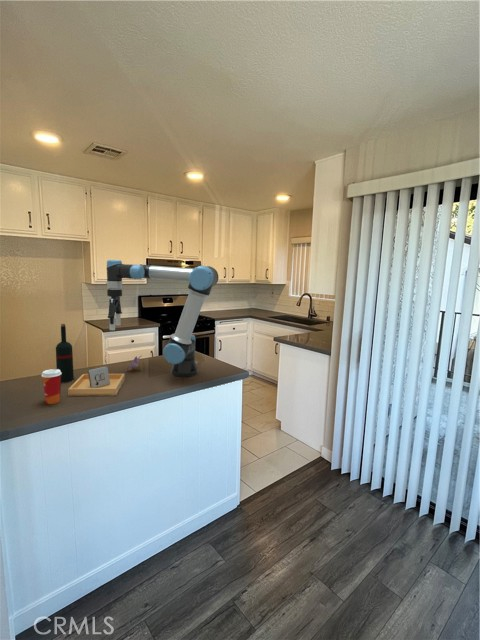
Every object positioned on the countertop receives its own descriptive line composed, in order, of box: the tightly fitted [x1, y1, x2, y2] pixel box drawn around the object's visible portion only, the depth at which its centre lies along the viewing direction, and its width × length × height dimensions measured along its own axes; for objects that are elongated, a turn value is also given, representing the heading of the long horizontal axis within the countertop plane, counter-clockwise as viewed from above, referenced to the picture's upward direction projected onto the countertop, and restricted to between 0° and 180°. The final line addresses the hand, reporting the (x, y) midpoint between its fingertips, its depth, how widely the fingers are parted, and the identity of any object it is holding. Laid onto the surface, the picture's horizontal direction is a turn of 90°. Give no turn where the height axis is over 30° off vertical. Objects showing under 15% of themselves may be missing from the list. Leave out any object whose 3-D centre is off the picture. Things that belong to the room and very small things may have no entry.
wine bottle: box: [55, 323, 75, 384], centre depth 166 cm, size 8×10×30 cm
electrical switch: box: [87, 366, 110, 388], centre depth 159 cm, size 9×5×9 cm, turn 140°
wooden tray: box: [67, 373, 126, 397], centre depth 159 cm, size 21×21×4 cm
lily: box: [125, 354, 143, 372], centre depth 186 cm, size 12×12×10 cm
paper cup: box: [40, 368, 62, 405], centre depth 141 cm, size 8×8×14 cm
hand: (115, 327), depth 175 cm, fingers open, 13 cm apart
